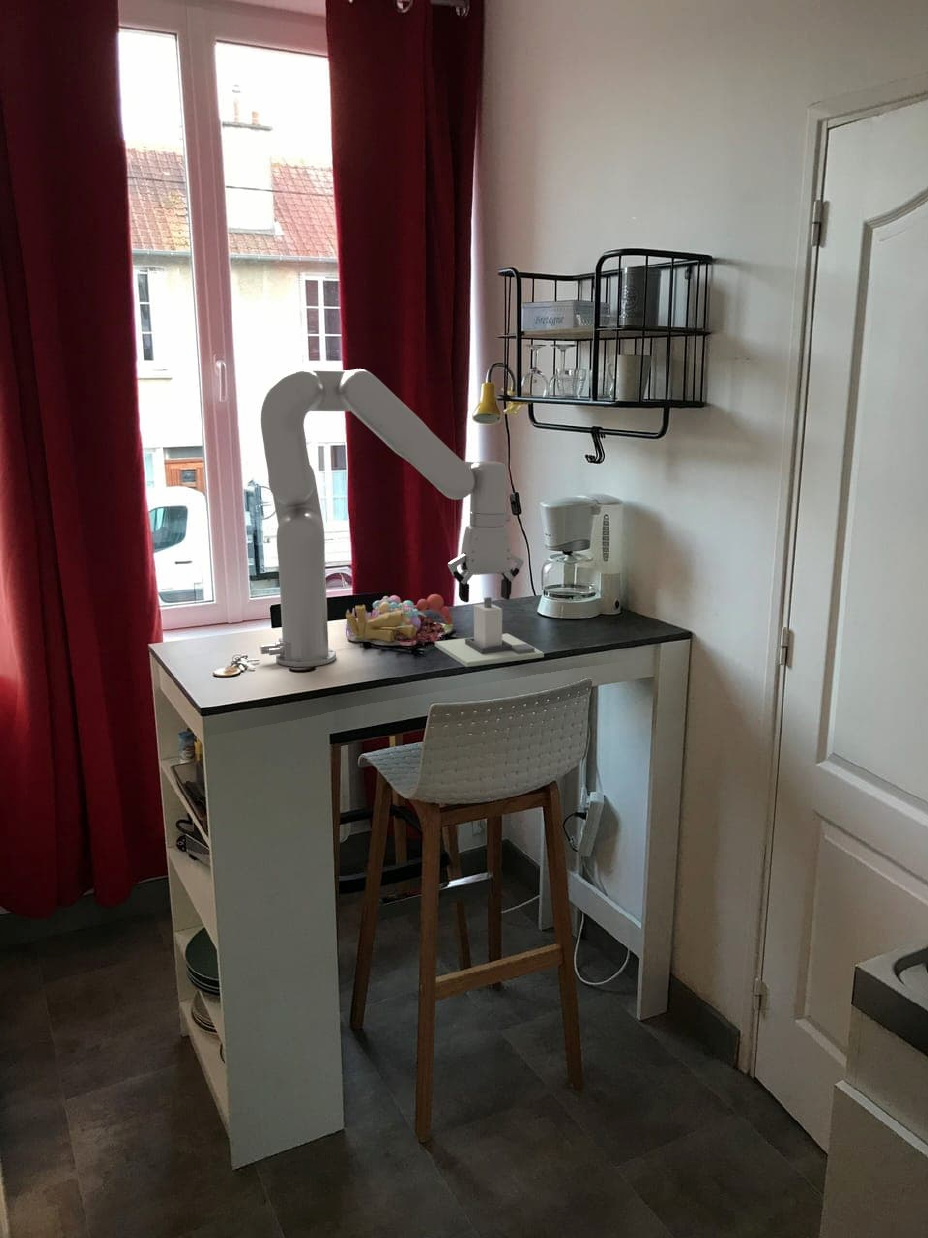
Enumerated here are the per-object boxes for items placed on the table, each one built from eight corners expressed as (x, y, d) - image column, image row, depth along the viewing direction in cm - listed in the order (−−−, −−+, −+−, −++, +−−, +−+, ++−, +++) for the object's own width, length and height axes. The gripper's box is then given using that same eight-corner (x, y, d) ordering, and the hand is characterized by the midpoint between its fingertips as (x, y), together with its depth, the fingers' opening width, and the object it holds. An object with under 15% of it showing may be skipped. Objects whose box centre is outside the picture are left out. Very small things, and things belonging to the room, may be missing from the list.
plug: (474, 644, 214) (473, 596, 212) (490, 642, 216) (490, 594, 213) (485, 651, 209) (485, 601, 206) (502, 649, 210) (502, 599, 208)
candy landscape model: (431, 652, 213) (430, 611, 211) (331, 646, 219) (329, 606, 217) (459, 625, 237) (459, 588, 235) (368, 620, 243) (367, 584, 240)
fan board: (466, 667, 201) (466, 656, 201) (434, 646, 217) (434, 636, 217) (543, 657, 208) (544, 647, 207) (507, 637, 224) (507, 628, 224)
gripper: (516, 517, 212) (513, 594, 216) (442, 519, 206) (441, 598, 210) (532, 521, 206) (528, 600, 210) (456, 524, 199) (454, 606, 203)
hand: (485, 599), depth 210 cm, fingers open, 9 cm apart
